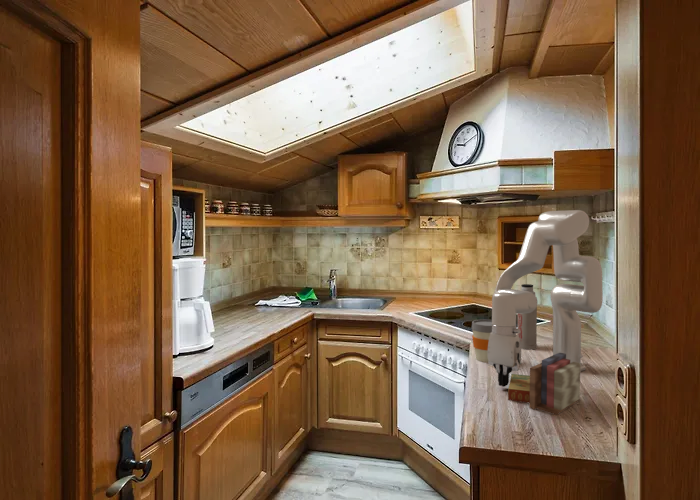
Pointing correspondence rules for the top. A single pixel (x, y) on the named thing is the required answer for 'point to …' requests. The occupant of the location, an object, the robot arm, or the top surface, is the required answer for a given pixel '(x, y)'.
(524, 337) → the thermos bottle
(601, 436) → the top surface
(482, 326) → the reusable coffee cup
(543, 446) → the top surface
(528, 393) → the carton
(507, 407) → the top surface
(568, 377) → the bookend
